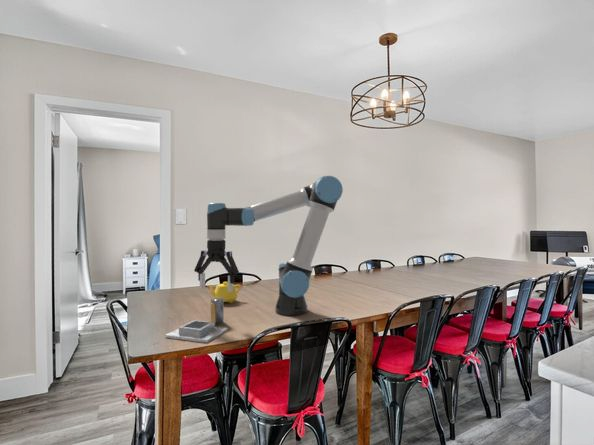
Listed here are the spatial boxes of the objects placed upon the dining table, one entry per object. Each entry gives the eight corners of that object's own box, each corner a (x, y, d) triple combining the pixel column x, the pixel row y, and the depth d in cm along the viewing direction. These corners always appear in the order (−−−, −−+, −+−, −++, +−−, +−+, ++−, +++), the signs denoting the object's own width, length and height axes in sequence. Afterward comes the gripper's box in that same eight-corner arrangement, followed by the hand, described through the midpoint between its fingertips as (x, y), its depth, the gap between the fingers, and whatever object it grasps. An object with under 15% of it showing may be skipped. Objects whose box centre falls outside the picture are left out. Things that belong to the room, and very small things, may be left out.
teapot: (207, 306, 167) (207, 285, 167) (206, 301, 177) (205, 281, 177) (243, 303, 173) (243, 282, 173) (239, 298, 183) (239, 279, 183)
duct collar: (227, 330, 130) (227, 321, 130) (206, 343, 117) (206, 333, 117) (189, 326, 136) (188, 317, 136) (165, 337, 123) (165, 328, 123)
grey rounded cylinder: (226, 321, 141) (225, 298, 141) (218, 326, 136) (218, 301, 136) (215, 320, 143) (215, 297, 143) (207, 324, 137) (207, 300, 137)
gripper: (247, 239, 139) (246, 290, 139) (196, 238, 147) (196, 286, 147) (238, 240, 132) (238, 293, 132) (185, 239, 140) (185, 289, 140)
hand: (216, 289), depth 139 cm, fingers open, 13 cm apart
